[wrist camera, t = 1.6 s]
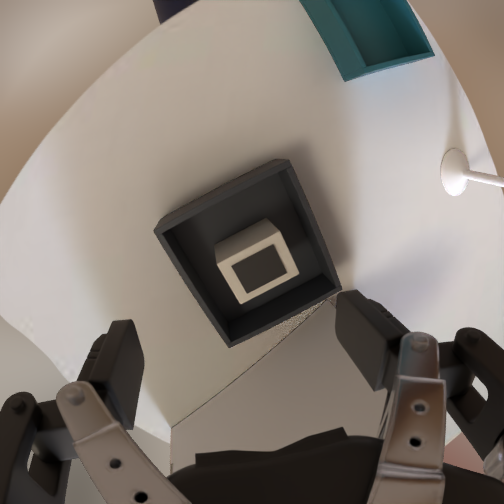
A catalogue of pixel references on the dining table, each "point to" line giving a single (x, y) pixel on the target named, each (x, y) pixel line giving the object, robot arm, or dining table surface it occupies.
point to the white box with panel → (255, 260)
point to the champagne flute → (462, 173)
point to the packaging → (284, 398)
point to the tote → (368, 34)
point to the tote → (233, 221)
